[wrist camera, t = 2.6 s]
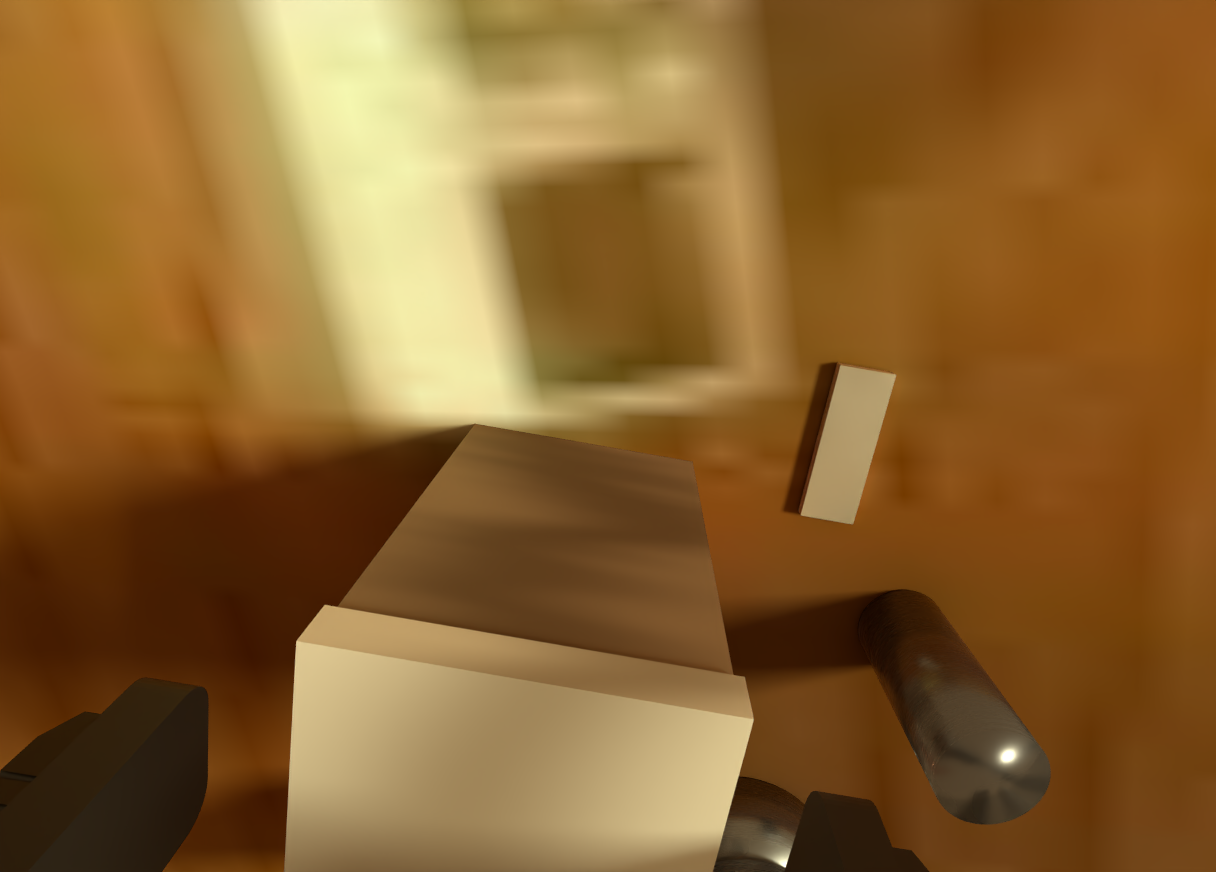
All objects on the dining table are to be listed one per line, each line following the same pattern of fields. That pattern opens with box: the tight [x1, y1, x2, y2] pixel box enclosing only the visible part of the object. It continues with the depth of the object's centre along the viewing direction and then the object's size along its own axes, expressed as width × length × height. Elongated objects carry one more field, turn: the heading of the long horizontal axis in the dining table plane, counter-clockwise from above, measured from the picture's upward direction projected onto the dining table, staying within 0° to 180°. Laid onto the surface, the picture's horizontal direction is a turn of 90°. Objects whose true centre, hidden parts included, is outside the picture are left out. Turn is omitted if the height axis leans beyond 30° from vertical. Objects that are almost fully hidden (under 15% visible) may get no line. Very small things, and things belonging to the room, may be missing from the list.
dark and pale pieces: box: [716, 362, 1050, 867], centre depth 16 cm, size 6×16×5 cm, turn 170°
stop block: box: [284, 424, 754, 872], centre depth 14 cm, size 5×5×9 cm
